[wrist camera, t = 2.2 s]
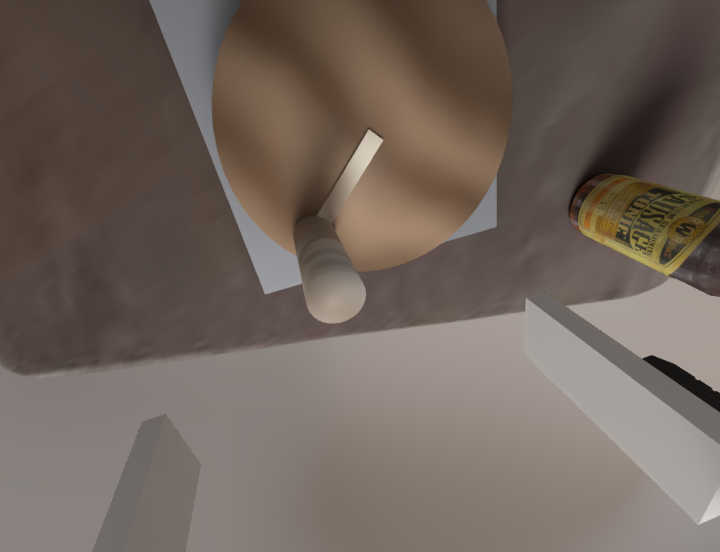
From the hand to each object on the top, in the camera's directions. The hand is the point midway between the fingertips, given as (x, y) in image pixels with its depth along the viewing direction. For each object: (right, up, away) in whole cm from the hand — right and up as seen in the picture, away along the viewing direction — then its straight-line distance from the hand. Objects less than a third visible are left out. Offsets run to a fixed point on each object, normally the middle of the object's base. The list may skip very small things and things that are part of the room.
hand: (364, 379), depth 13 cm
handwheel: (0, +14, +13) cm, 20 cm away
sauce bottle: (+23, +11, +23) cm, 34 cm away
